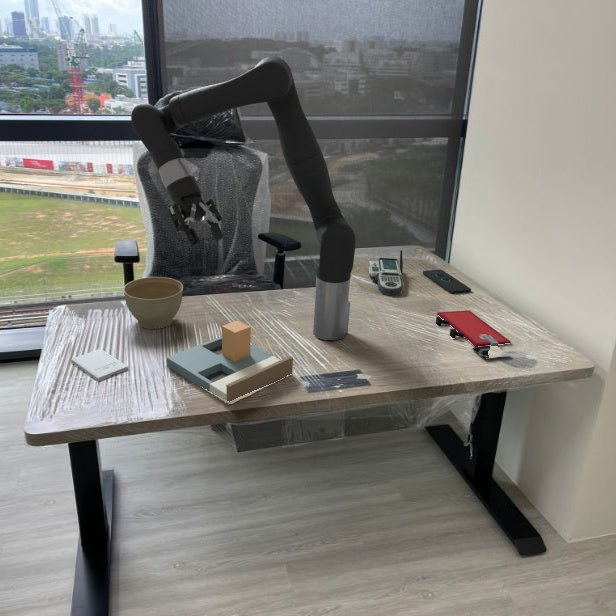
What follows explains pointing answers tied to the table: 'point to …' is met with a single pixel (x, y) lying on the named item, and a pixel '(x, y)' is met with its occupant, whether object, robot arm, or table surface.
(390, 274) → the communication device
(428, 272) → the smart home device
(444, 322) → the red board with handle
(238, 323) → the orange block
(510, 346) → the table surface
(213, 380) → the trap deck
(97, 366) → the external hard drive
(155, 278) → the planter bowl
